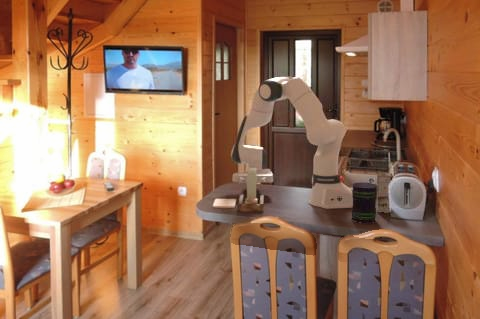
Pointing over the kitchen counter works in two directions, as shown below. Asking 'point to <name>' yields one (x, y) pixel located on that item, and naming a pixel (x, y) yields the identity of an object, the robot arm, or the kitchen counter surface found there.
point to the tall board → (251, 183)
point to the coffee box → (383, 192)
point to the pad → (224, 203)
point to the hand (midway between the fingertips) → (252, 180)
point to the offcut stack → (251, 201)
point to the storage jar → (364, 202)
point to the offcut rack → (251, 205)
